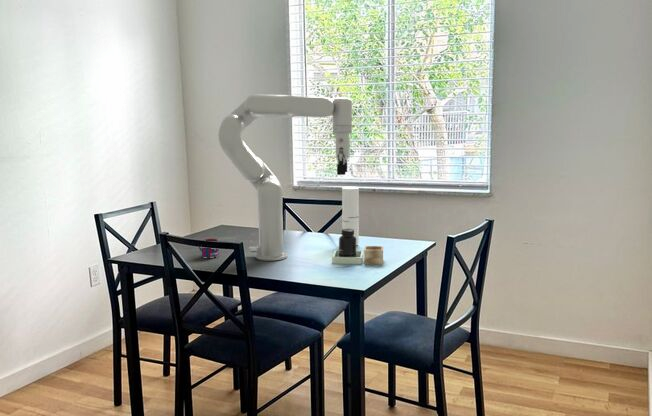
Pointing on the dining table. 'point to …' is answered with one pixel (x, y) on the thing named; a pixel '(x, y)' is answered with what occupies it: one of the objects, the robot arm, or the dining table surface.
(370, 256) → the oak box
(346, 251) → the supplement bottle
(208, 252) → the mug
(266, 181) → the robot arm
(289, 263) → the dining table surface
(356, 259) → the tray
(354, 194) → the cylindrical container
